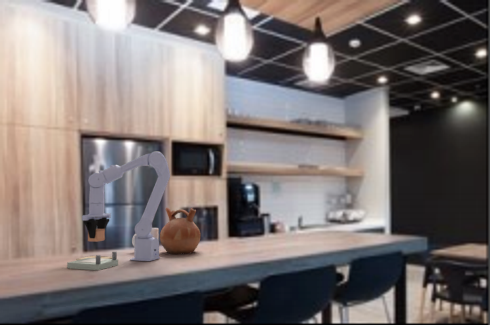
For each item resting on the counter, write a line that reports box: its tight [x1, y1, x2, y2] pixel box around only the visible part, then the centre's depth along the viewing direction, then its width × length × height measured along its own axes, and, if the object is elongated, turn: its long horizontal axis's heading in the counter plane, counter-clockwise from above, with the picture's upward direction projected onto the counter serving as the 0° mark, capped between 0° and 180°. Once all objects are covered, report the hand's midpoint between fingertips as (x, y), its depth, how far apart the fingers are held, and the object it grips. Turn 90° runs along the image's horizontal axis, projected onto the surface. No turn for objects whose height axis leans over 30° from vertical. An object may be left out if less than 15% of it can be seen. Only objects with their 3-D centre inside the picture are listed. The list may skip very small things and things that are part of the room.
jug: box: [159, 207, 201, 255], centre depth 188 cm, size 18×18×20 cm
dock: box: [66, 251, 119, 271], centre depth 155 cm, size 14×11×5 cm
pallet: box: [75, 255, 112, 261], centre depth 167 cm, size 12×9×1 cm
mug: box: [131, 227, 159, 247], centre depth 192 cm, size 12×8×10 cm
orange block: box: [87, 228, 106, 242], centre depth 167 cm, size 5×5×4 cm
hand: (96, 237), depth 167 cm, fingers closed on orange block, 4 cm apart
